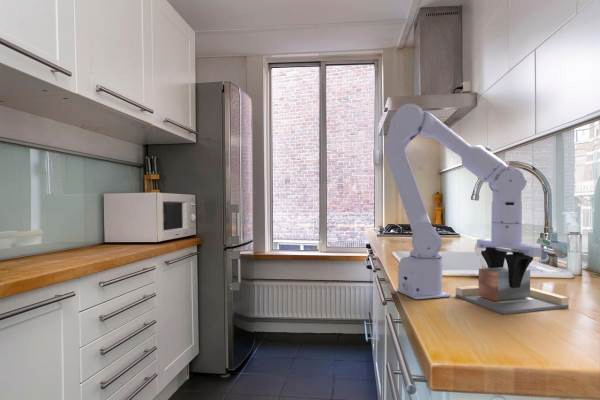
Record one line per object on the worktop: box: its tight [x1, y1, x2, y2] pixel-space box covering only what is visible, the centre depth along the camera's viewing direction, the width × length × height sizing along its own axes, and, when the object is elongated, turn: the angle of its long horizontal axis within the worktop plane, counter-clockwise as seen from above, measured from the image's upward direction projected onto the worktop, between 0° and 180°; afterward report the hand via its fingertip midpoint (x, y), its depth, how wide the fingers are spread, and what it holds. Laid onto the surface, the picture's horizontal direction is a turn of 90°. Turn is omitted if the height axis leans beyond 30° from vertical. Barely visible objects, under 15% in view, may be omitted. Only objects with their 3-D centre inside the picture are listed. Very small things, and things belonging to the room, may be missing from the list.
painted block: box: [478, 266, 531, 301], centre depth 75 cm, size 4×10×6 cm, turn 107°
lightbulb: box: [474, 238, 499, 269], centre depth 101 cm, size 6×6×11 cm
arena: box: [455, 284, 570, 315], centre depth 75 cm, size 17×13×2 cm
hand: (505, 284), depth 75 cm, fingers closed on painted block, 4 cm apart
